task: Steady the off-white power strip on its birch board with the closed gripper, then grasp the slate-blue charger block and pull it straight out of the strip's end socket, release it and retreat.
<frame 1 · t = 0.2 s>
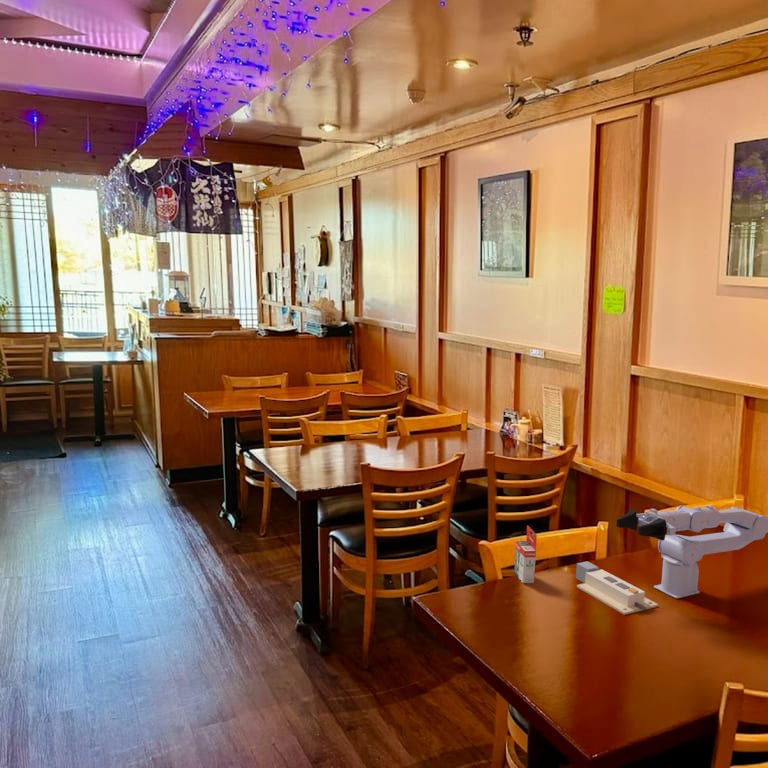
hand: (628, 527, 178), 21 cm above the table, tool horizontal, fingers open, 7 cm apart
power strip: (613, 594, 185), on the table
charger plug: (590, 574, 193), point 2 cm above the table, slide at 0.0 cm
ink box: (523, 578, 196), on the table
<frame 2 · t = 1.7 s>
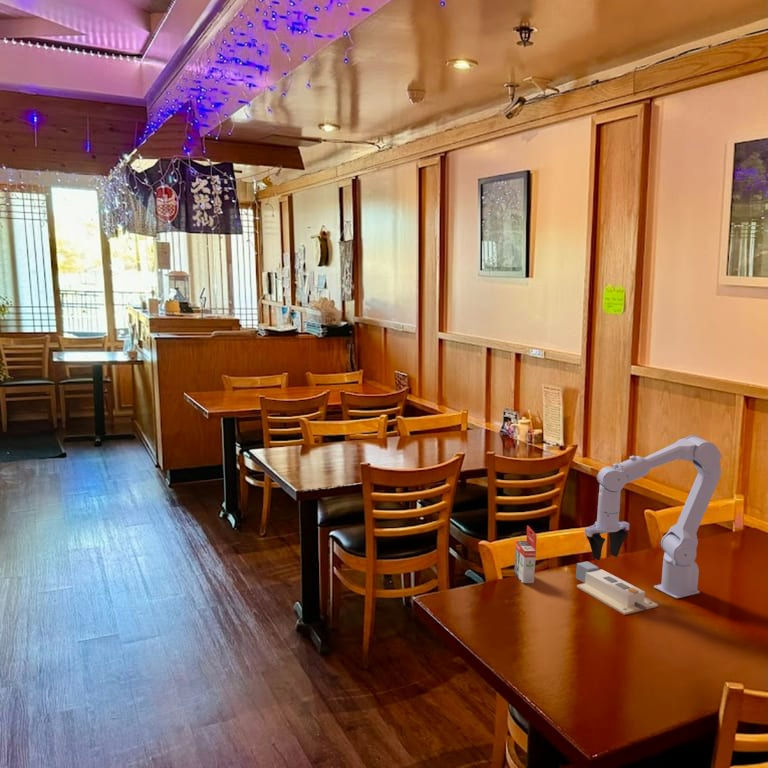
hand: (605, 557, 188), 9 cm above the table, tool pointing down, fingers open, 6 cm apart
nothing on the table moved.
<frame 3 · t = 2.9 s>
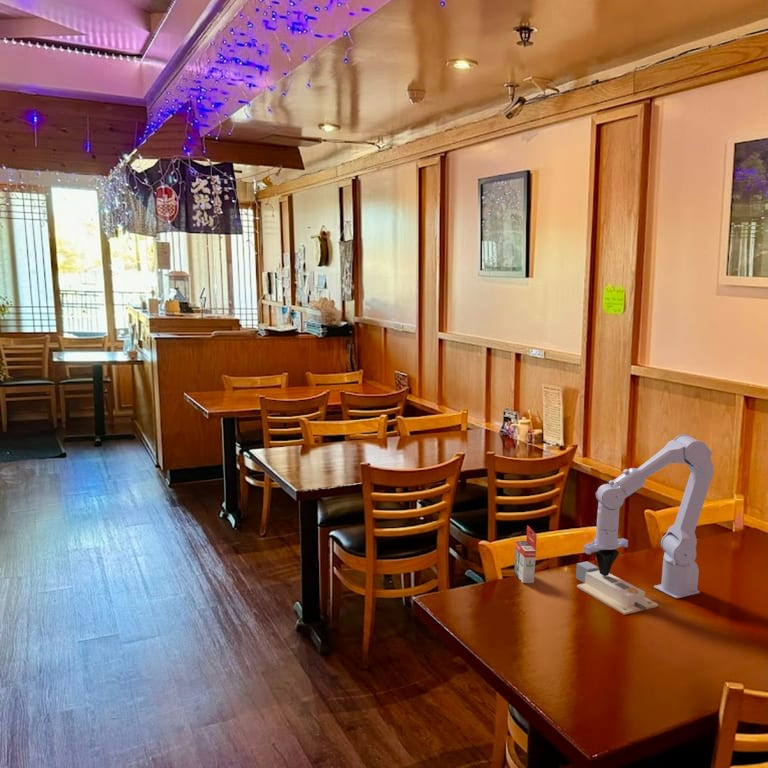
hand: (604, 574, 188), 4 cm above the table, tool pointing down, fingers closed
nothing on the table moved.
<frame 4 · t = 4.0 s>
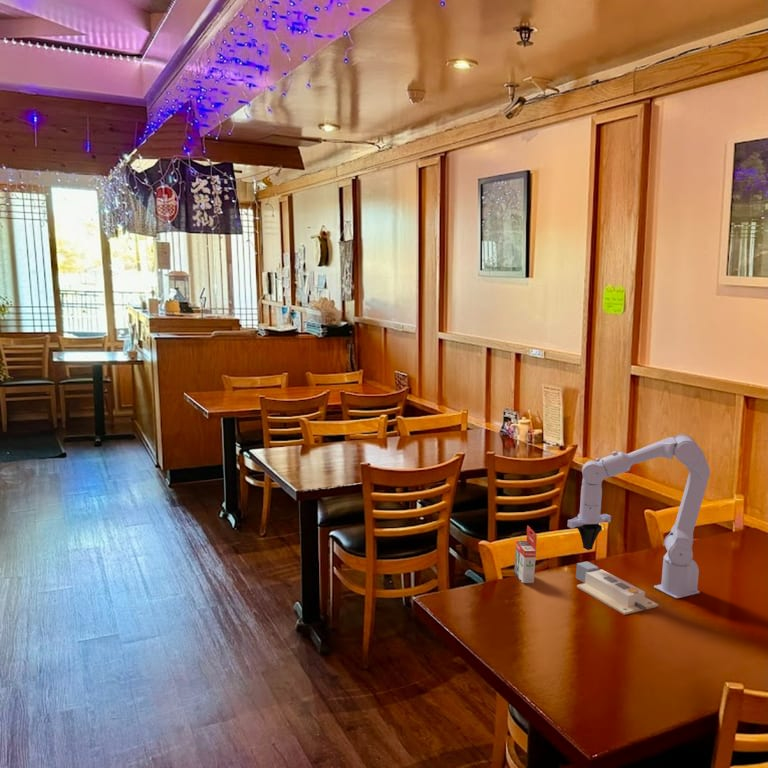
hand: (587, 548, 194), 9 cm above the table, tool pointing down, fingers closed
nothing on the table moved.
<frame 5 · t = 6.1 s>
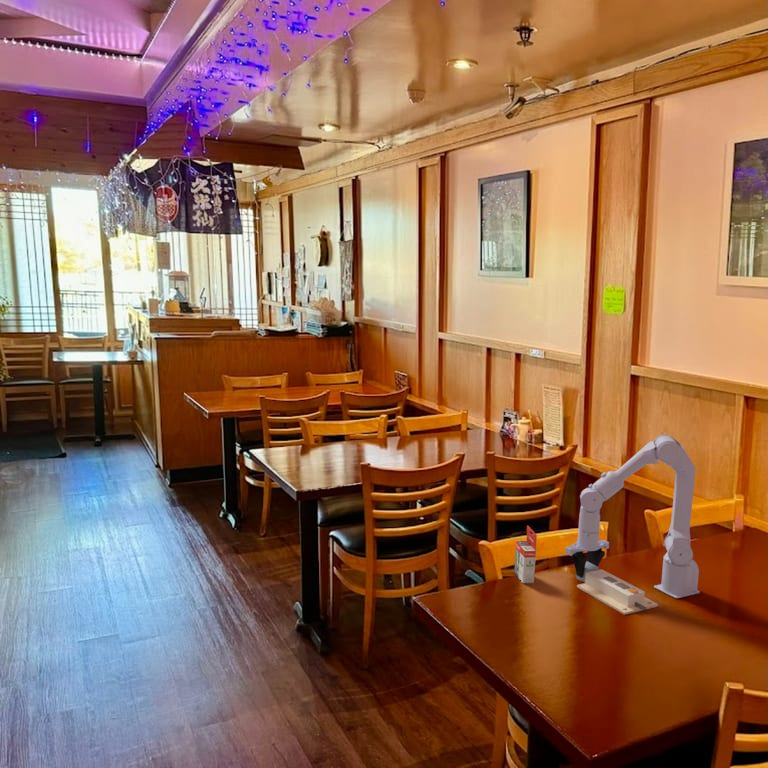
hand: (585, 574, 195), 1 cm above the table, tool pointing down, fingers closed on charger plug, 4 cm apart
charger plug: (590, 574, 193), point 2 cm above the table, slide at 0.0 cm, touching gripper
everything else where it was.
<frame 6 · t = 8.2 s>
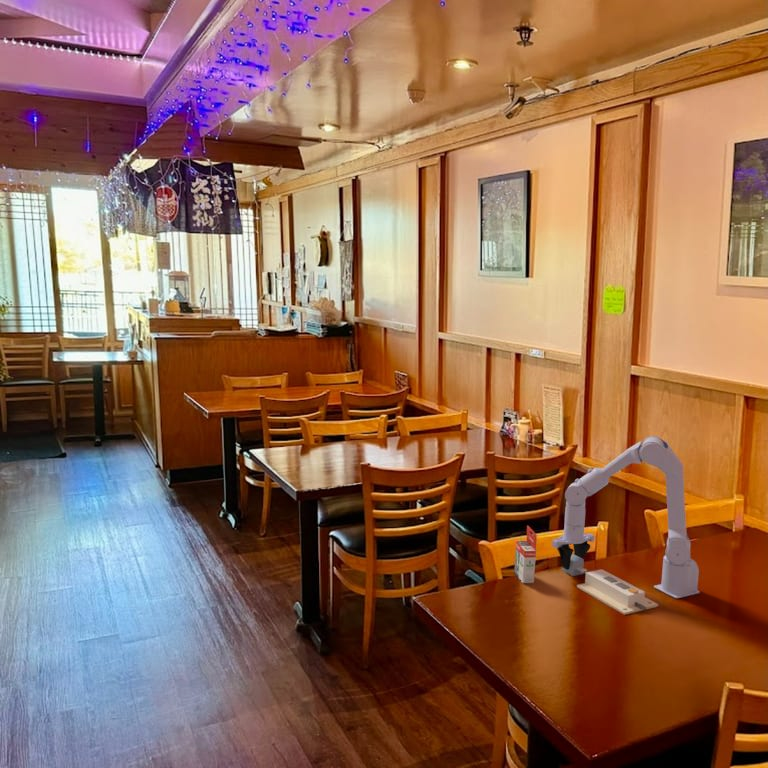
hand: (571, 567, 200), 1 cm above the table, tool pointing down, fingers closed on charger plug, 4 cm apart
charger plug: (576, 566, 199), point 2 cm above the table, slide at 6.0 cm, touching gripper
everything else where it was.
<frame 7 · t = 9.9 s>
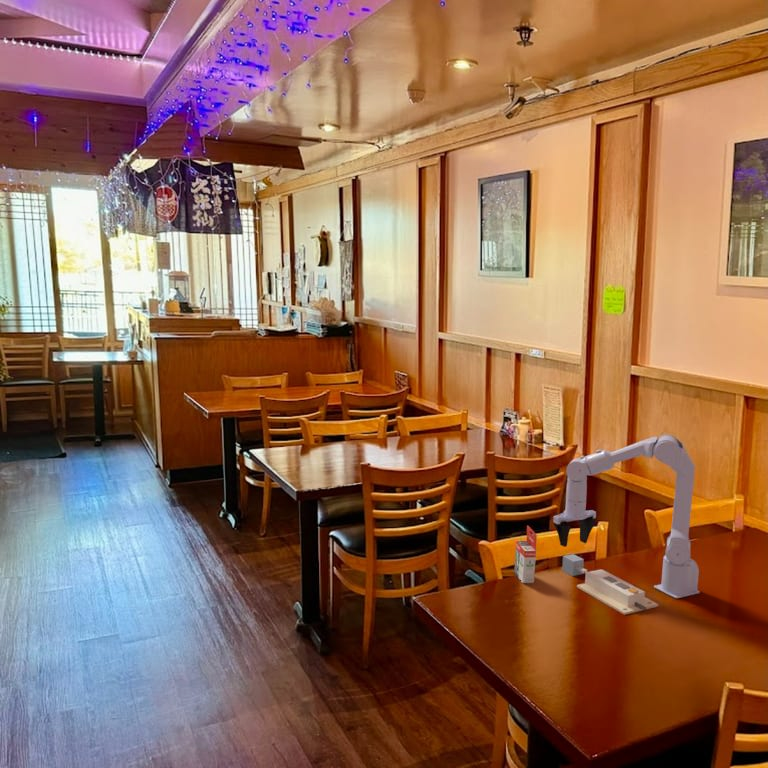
hand: (573, 543, 199), 9 cm above the table, tool pointing down, fingers open, 7 cm apart
charger plug: (576, 566, 199), point 2 cm above the table, slide at 6.0 cm
everything else where it was.
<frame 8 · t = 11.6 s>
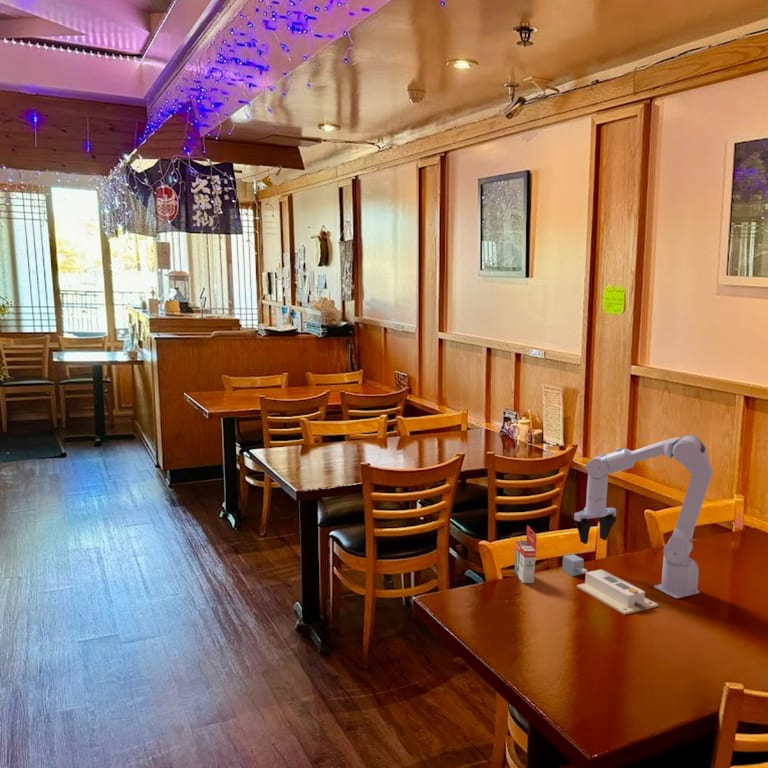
hand: (593, 540, 200), 9 cm above the table, tool pointing down, fingers open, 7 cm apart
nothing on the table moved.
at the end: charger plug slide at 6.0 cm; the gripper is holding nothing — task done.
